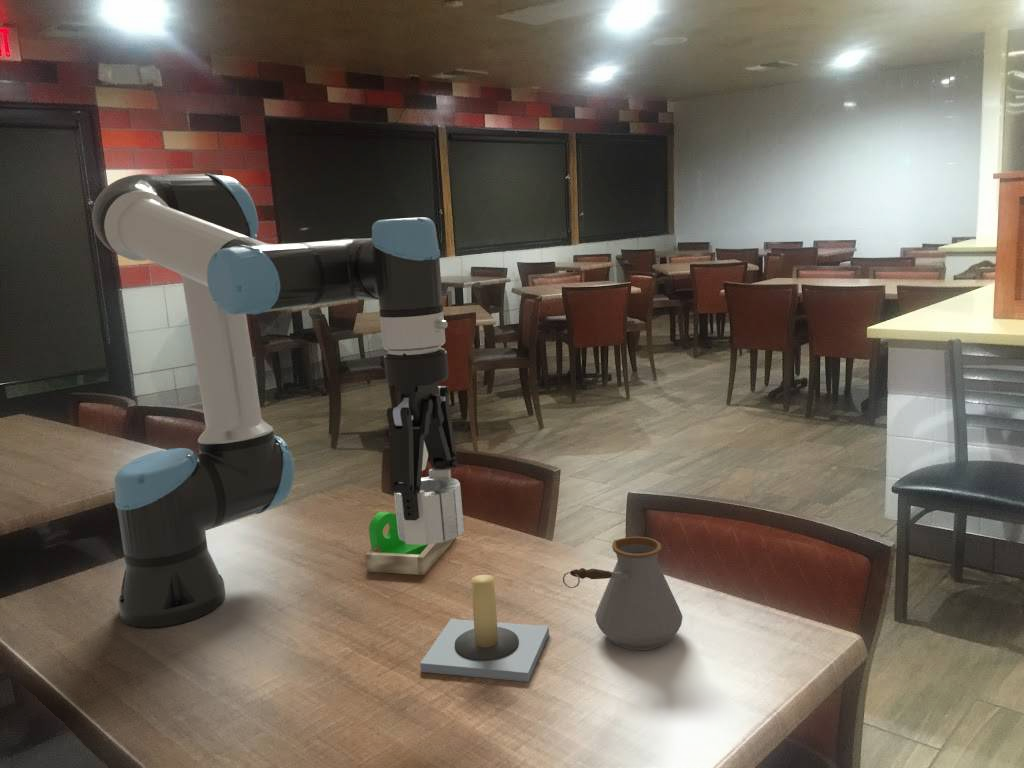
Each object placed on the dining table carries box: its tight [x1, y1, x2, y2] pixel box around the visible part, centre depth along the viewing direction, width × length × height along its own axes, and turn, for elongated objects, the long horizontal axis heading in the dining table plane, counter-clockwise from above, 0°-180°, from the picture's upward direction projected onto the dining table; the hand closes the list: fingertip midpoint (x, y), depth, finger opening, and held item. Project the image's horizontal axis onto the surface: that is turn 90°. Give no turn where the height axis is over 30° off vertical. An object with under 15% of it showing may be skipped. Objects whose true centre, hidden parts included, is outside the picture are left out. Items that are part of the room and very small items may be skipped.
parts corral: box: [365, 538, 456, 576], centre depth 144 cm, size 10×16×3 cm, turn 165°
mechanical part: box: [368, 510, 429, 555], centre depth 143 cm, size 12×6×8 cm, turn 134°
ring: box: [393, 476, 465, 544], centre depth 104 cm, size 8×8×6 cm
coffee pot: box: [562, 536, 684, 651], centre depth 107 cm, size 21×12×15 cm, turn 142°
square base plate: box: [419, 574, 550, 683], centre depth 109 cm, size 14×12×10 cm
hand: (430, 530), depth 105 cm, fingers closed on ring, 8 cm apart
